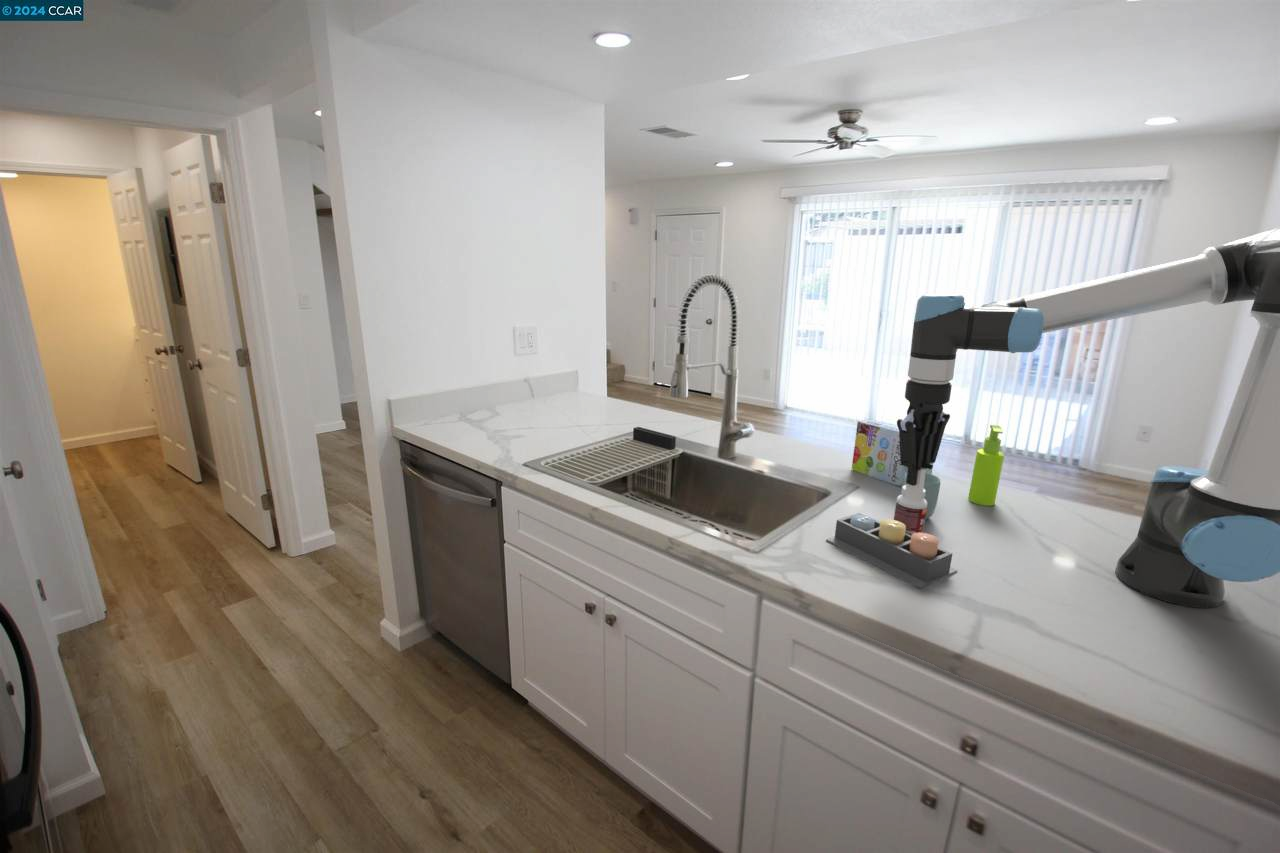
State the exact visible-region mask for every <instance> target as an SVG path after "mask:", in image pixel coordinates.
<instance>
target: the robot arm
mask: <svg viewBox="0 0 1280 853" xmlns="http://www.w3.org/2000/svg"><path fill="white" fill-rule="evenodd" d="M1243 301H1244V302H1245V301H1253V303H1252V306H1251V309H1250V311H1249V312H1250V314H1251V316H1252V317H1253V318H1255V320H1257V321H1256V322H1258V324H1259V329H1258V331H1257V333H1256V336H1255V339H1254V343H1253V345H1252V348H1251V351H1250V354H1249V357H1248V360H1247V362H1246V365H1245V368H1244V370H1243V373H1242V376H1241V378H1240V382H1239V385H1238V387H1237V390H1236V393H1235V395H1234V398H1233V401H1232V404H1231V407H1230V409H1229V412H1228V416H1227V418H1226V421H1225V423H1224V426H1223V428H1222V432H1221V434H1220V438H1219V441H1218V442H1217V446H1216V448H1215V452H1214V454H1213V458H1212V460H1211V463H1210V464H1209V468H1208V470H1206V469H1202V468H1195V467H1194V468H1193V467H1187V466H1177V465H1176V466H1175V465H1165V466H1161V467H1159V468H1158V469H1157V470H1156V471H1155V473H1154V475H1153V478H1152V480H1150V489H1149V491H1148V495H1147V498H1146V503H1145V505H1144V506H1145V507H1144V510H1143V514H1142V518H1141V522H1140V524H1139V529H1138V532H1137V535H1136V538H1135V539H1134V540H1133V542H1132V543H1131V544H1130V545H1129V547H1128V548H1127V549H1126V550H1125V552H1124V553H1123V554H1122V555H1121V556H1120V557H1119V559H1118V561H1117V563H1116V567H1115V575H1116V576H1117V578H1118V579H1119V580H1120V581H1122V583H1124V584H1126V586H1127V585H1128V586H1129V587H1131V588H1133V589H1135V590H1136V591H1139V592H1140V593H1143V594H1145V595H1148V596H1150V597H1153V598H1155V599H1159V600H1161V601H1165V602H1168V603H1172V604H1176V605H1180V606H1186V607H1192V608H1202V609H1203V608H1205V609H1206V608H1207V609H1208V608H1216V607H1218V606H1219V605H1221V604H1222V602H1223V599H1224V595H1225V592H1226V590H1225V584H1224V581H1227V582H1233V583H1251V582H1258V581H1260V580H1263V579H1266V578H1272V577H1274V576H1276V575H1278V574H1280V226H1277V227H1273V228H1271V229H1268V230H1264V231H1260V232H1258V233H1255V234H1252V235H1250V236H1247V237H1244V238H1243V237H1242V238H1240V239H1235V240H1233V241H1230V242H1225V243H1222V244H1218V245H1213V246H1209V247H1206V248H1205V249H1203V251H1202V252H1201V253H1199V255H1198V256H1193V257H1189V258H1185V259H1180V260H1176V261H1171V262H1167V263H1163V264H1158V265H1154V266H1151V267H1146V268H1142V269H1137V270H1132V271H1128V272H1124V273H1123V272H1122V273H1119V274H1115V275H1112V276H1106V277H1103V278H1097V279H1094V280H1090V281H1089V280H1088V281H1086V282H1085V281H1083V282H1081V283H1077V284H1070V285H1067V286H1063V287H1060V288H1055V289H1051V290H1050V289H1049V290H1045V291H1042V292H1037V293H1033V294H1029V295H1025V296H1024V295H1023V296H1022V297H1016V298H1012V299H1006V300H1003V301H991V302H987V303H985V304H982V305H981V306H969V305H966V303H965V297H964V296H963V295H961V294H942V293H941V294H940V293H939V294H938V293H927V294H926V293H925V294H923V295H922V296H920V297H919V298H918V300H917V302H916V308H915V309H916V310H915V313H914V319H913V325H912V326H913V328H912V336H911V344H910V354H909V356H910V357H909V362H908V364H909V365H908V370H907V376H908V378H909V379H908V380H907V381H906V383H905V392H904V398H905V400H907V401H908V402H909V405H908V408H907V411H906V416H905V418H904V419H902V418H901V419H900V418H899V419H897V421H896V425H897V427H898V429H899V437H900V463H901V465H903V466H906V467H907V468H908V472H907V479H906V490H905V498H907V499H909V500H912V501H915V502H920V501H922V496H923V488H924V481H925V476H926V469H927V468H928V469H932V470H933V469H934V464H935V462H936V460H937V458H938V454H939V450H940V447H941V443H942V439H943V436H944V434H945V433H944V432H945V431H946V426H947V424H948V422H949V421H950V418H951V414H949V413H946V412H944V411H943V410H944V406H943V405H946V404H948V403H949V402H950V400H951V392H952V387H953V386H952V385H953V384H952V383H951V382H950V381H952V380H953V379H954V373H955V368H956V367H955V365H956V359H957V352H958V350H964V351H965V350H966V351H967V350H973V351H987V352H1003V353H1010V354H1015V353H1033V352H1035V351H1036V349H1038V347H1039V346H1040V342H1041V339H1042V334H1046V333H1050V332H1051V333H1052V332H1054V331H1055V332H1056V331H1060V330H1061V331H1062V330H1065V329H1071V328H1075V327H1081V326H1086V325H1090V324H1091V325H1092V324H1095V323H1096V324H1097V323H1101V322H1106V321H1111V320H1115V319H1120V318H1121V319H1122V318H1125V317H1131V316H1135V315H1136V316H1137V315H1142V314H1147V313H1151V312H1156V311H1162V310H1167V309H1172V308H1173V309H1174V308H1177V307H1182V306H1187V305H1193V304H1197V303H1201V302H1202V303H1203V302H1207V303H1209V304H1212V305H1215V306H1217V305H1222V304H1229V303H1234V302H1243ZM930 463H933V465H930Z"/></svg>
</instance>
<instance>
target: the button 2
mask: <svg viewBox="0 0 1280 853" xmlns="http://www.w3.org/2000/svg"><path fill="white" fill-rule="evenodd" d="M879 522H880V528H879V535H878V537H879V538H881V539H883V540H886V541H888V542H890V543H892V544H894V545H898V544H901V543H903V542H904V536H905V530H906V526H905V524H903V523H902V522H899V521H896V520H894V519H888V518H887V519H882V520H880V521H879Z"/></svg>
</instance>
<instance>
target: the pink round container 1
mask: <svg viewBox="0 0 1280 853" xmlns="http://www.w3.org/2000/svg"><path fill="white" fill-rule="evenodd" d="M939 542H940V540H939V539H938V538H937V536H935V535H932V534H929V533H926V532H925V533H924V532H923V533H914V534H912V535H911V542H910V548H909V552H912V553H914V554H916V555H918V556H920V557H922V558H925V559H927V560H930V559H932V558H935V557H936V556H937V550H938V547H939V544H940V543H939Z"/></svg>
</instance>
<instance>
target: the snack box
mask: <svg viewBox="0 0 1280 853" xmlns="http://www.w3.org/2000/svg"><path fill="white" fill-rule="evenodd" d="M855 432H856V433H855V440H854V447H853V448H854V449H853V454H852V463H851V470H852V469H853V470H855V471H854V472H856V471H858V472H857V473H859V472H860V474H862V473H863V475H865V476H868V477H871V478H874V479H877V480H879V481H883V482H885V483H889V484H891V485H894V486H897V487H900V488H902V485H903V479H904V475H905V473H907V472H908V468H907V467H906V466H903V465H901V463H900V437H899V429H898V426H896V425H892V424H888V423H884V422H880V421H876V420H872V419H864V420H860V421H857V424H856V431H855ZM930 465H933V466H934V463H930ZM853 470H852V471H853ZM926 473H929V474H932V475H933V468H932V469H928V468H927V469H926Z"/></svg>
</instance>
